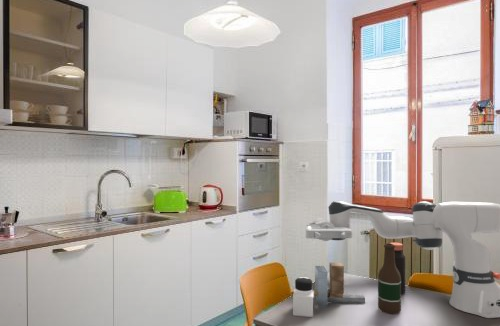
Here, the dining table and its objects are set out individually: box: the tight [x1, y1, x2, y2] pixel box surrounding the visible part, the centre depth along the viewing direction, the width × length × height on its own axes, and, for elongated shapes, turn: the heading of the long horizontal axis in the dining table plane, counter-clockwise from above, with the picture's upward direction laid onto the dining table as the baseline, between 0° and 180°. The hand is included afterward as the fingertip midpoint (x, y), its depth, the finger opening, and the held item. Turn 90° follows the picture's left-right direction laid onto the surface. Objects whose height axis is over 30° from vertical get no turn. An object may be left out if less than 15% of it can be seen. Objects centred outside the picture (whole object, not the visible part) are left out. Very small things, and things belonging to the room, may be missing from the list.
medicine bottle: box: [292, 276, 315, 318], centre depth 121 cm, size 7×7×12 cm
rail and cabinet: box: [314, 265, 366, 308], centre depth 129 cm, size 18×7×13 cm, turn 89°
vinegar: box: [389, 242, 406, 296], centre depth 140 cm, size 7×7×20 cm
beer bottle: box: [377, 242, 402, 315], centre depth 123 cm, size 8×8×24 cm
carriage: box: [327, 262, 345, 298], centre depth 131 cm, size 8×4×12 cm, turn 89°
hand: (332, 236), depth 142 cm, fingers open, 8 cm apart
